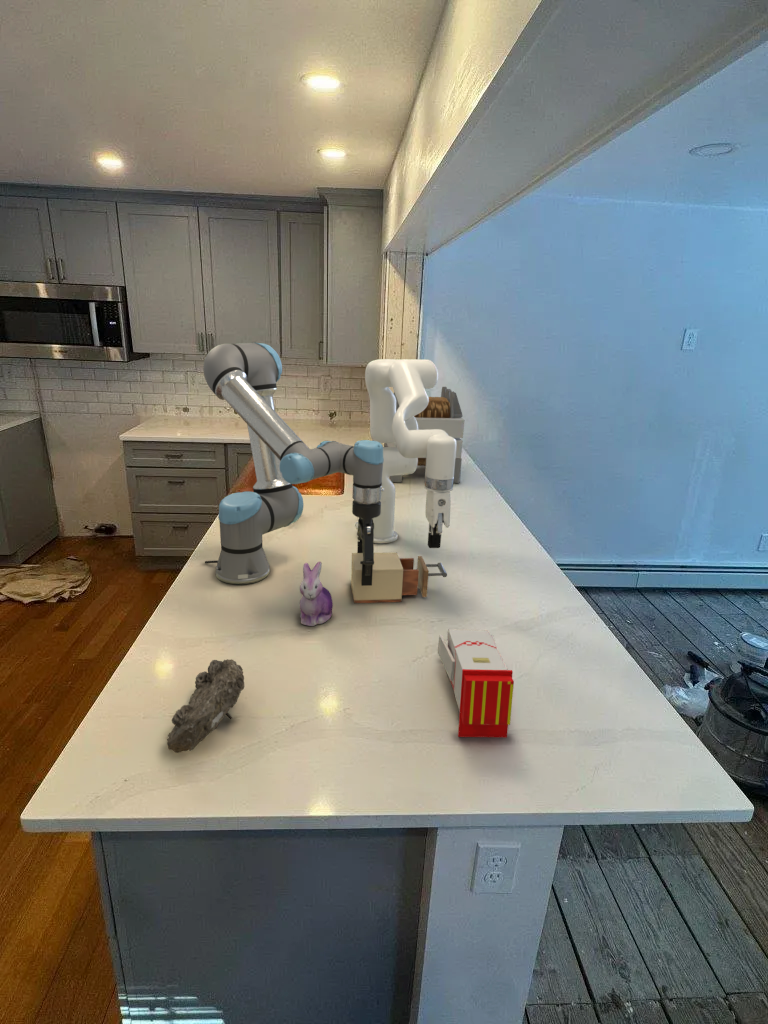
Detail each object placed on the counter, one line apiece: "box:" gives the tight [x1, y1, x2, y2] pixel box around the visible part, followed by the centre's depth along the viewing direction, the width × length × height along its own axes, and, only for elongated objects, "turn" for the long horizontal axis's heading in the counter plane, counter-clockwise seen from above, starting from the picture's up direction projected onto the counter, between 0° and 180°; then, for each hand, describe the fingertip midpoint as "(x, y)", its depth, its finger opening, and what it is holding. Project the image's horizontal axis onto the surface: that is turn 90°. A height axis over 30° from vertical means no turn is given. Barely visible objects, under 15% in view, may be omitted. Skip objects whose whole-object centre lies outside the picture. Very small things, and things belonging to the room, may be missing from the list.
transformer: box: [383, 386, 465, 484], centre depth 268 cm, size 34×33×41 cm
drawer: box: [399, 555, 448, 598], centre depth 158 cm, size 17×10×8 cm, turn 97°
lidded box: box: [350, 552, 403, 604], centre depth 156 cm, size 13×11×10 cm
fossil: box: [166, 658, 245, 754], centre depth 106 cm, size 22×10×15 cm
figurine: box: [299, 561, 334, 627], centre depth 141 cm, size 9×10×15 cm
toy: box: [437, 628, 515, 738], centre depth 117 cm, size 12×13×30 cm
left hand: (364, 573), depth 155 cm, fingers open, 13 cm apart
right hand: (433, 546), depth 155 cm, fingers closed
